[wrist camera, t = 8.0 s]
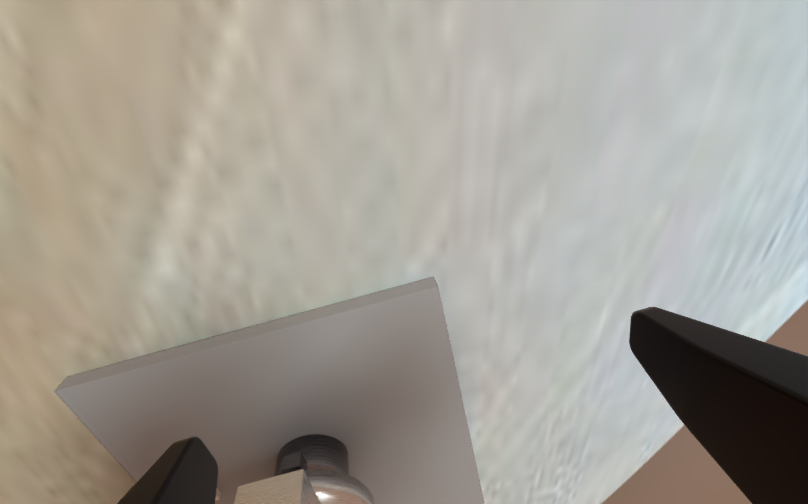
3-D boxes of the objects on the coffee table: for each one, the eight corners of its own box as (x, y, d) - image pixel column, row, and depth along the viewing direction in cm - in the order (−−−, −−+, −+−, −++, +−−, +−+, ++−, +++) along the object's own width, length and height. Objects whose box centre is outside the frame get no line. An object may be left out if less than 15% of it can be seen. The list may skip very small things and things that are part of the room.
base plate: (228, 564, 29) (223, 586, 28) (66, 377, 20) (48, 397, 19) (480, 490, 30) (486, 508, 29) (433, 276, 21) (439, 290, 20)
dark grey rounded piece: (296, 497, 25) (291, 548, 23) (259, 435, 23) (248, 485, 20) (360, 479, 26) (363, 527, 23) (331, 415, 23) (330, 461, 20)
